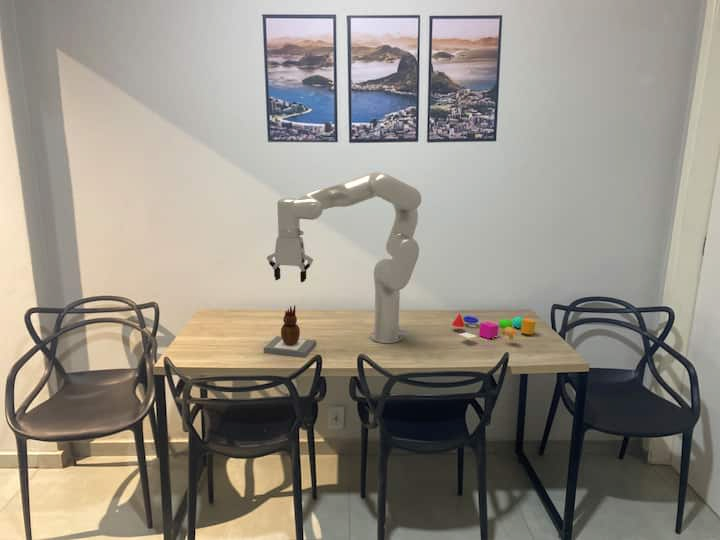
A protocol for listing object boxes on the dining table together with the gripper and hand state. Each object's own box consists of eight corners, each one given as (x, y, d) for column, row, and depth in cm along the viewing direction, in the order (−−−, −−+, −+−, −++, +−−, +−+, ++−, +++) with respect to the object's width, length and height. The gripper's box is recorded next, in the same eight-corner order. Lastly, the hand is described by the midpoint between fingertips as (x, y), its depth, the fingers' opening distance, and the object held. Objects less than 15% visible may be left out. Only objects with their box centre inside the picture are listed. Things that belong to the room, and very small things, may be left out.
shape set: (546, 339, 212) (549, 321, 210) (493, 353, 190) (496, 334, 188) (487, 319, 234) (489, 304, 233) (434, 330, 212) (436, 313, 210)
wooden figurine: (302, 342, 195) (301, 304, 192) (294, 347, 190) (293, 308, 186) (287, 339, 198) (286, 301, 194) (278, 344, 193) (277, 305, 189)
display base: (316, 345, 198) (316, 339, 198) (305, 357, 187) (305, 352, 186) (277, 340, 202) (276, 335, 202) (263, 352, 191) (263, 347, 190)
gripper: (315, 233, 186) (316, 279, 190) (270, 230, 190) (272, 276, 194) (308, 236, 179) (309, 284, 183) (261, 234, 183) (263, 281, 187)
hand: (290, 280), depth 189 cm, fingers open, 9 cm apart
